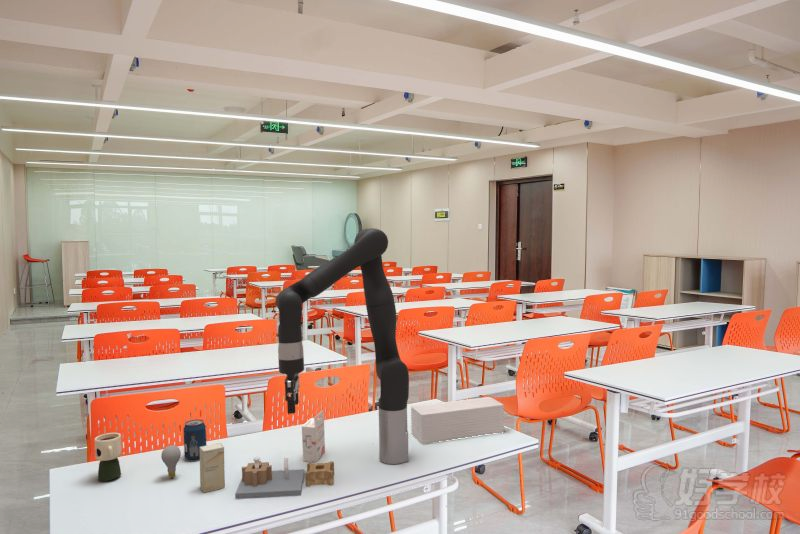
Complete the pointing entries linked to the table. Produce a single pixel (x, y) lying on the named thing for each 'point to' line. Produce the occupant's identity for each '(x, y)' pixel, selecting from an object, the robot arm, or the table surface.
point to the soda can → (194, 439)
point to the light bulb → (171, 459)
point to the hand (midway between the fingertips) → (293, 408)
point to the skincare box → (212, 467)
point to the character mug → (108, 455)
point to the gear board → (269, 481)
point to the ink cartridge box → (313, 438)
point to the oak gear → (319, 474)
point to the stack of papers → (456, 419)
